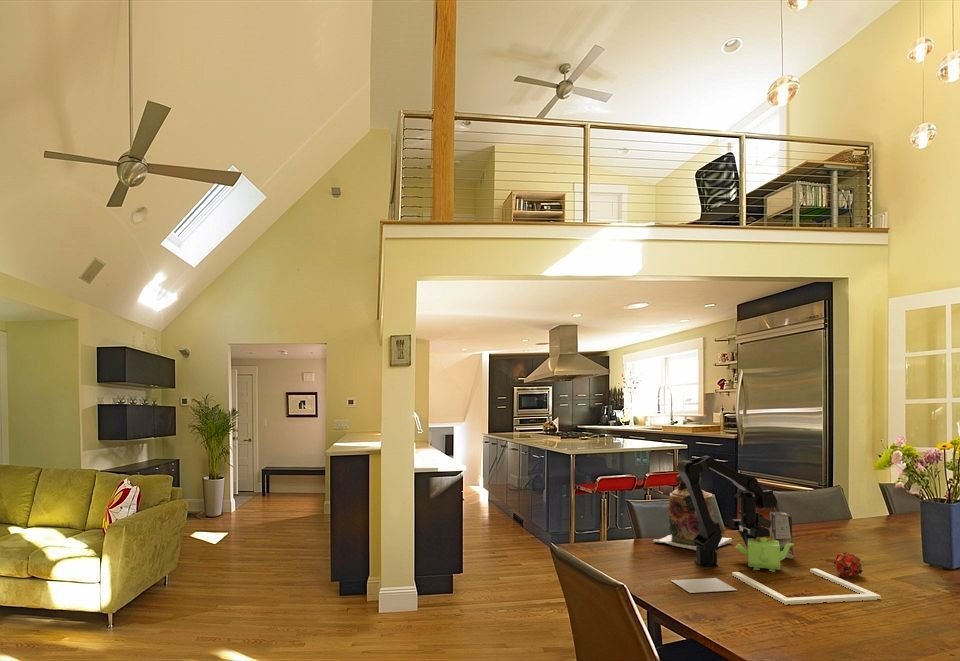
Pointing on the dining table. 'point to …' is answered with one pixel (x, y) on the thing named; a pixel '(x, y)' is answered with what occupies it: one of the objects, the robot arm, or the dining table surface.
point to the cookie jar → (685, 518)
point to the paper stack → (703, 585)
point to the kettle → (764, 553)
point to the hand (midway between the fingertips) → (750, 550)
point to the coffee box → (782, 530)
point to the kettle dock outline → (814, 599)
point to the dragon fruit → (848, 564)
